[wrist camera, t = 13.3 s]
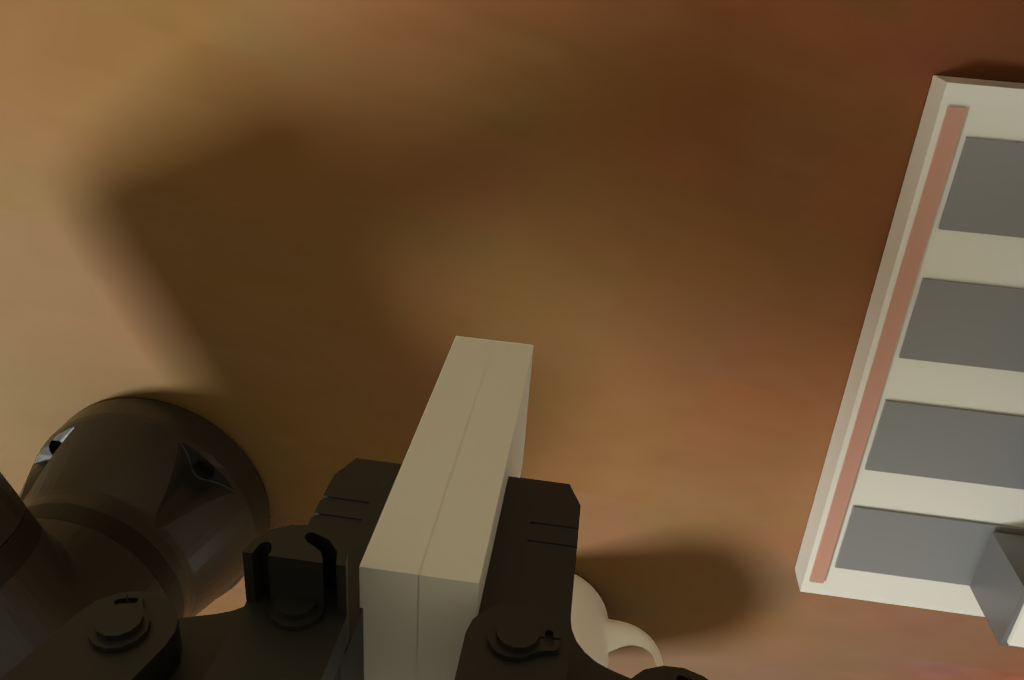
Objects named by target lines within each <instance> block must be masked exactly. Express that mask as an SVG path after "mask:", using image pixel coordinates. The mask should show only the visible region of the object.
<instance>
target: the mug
mask: <svg viewBox="0 0 1024 680" xmlns="http://www.w3.org/2000/svg"><path fill="white" fill-rule="evenodd" d="M571 627H572V631H573V634H574V636H575V639H576V641H577V642H578V644H579V645H580V646H581V648H582V649H583V650H584V652H585V653H586V654H587V655H589V656H590V657H591V658H592V659H593V660H595V661H596V662H597V663H599V664H601V665H602V666H604V667H606V668H608V653H609V652H611V651H613V650H615V649H618V648H620V647H624V646H629V645H635V646H640V647H643V648H645V649H646V650H648V651H649V652H650V653H651V654H652V656H653V657H654V659H655V662H656V667H659V666H663V662H662V658H661V655H660V652H659V649H658V647H657V646H656V644H655V642H654V641H653V640H652V638H651V637H650V636H649V635H648V634H647V633H645V632H644V631H643V630H641V629H640V628H638V627H636V626H634V625H632V624H629V623H626V622H622V621H618V620H612V619H608V615H607V611H606V607H605V605H604V603H603V601H602V599H601V597H600V596H599V594H598V593H597V592H596V590H595V589H594V588H593V587H592V586H591V585H590V584H589V583H588V582H586V581H585V580H584V579H583V578H581V577H579V576H578V575H576V574H574V586H573V597H572V609H571Z"/></svg>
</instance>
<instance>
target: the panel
mask: <svg viewBox="0 0 1024 680" xmlns="http://www.w3.org/2000/svg"><path fill="white" fill-rule="evenodd" d="M991 532H999V533H1006V534H1014V535H1022V536H1024V83H1016V82H1005V81H993V80H982V79H971V78H960V77H949V76H938V75H933V78H932V82H931V85H930V89H929V92H928V96H927V99H926V103H925V106H924V110H923V114H922V117H921V121H920V124H919V128H918V131H917V135H916V139H915V142H914V146H913V149H912V153H911V156H910V160H909V163H908V167H907V171H906V174H905V178H904V181H903V185H902V188H901V192H900V196H899V199H898V203H897V206H896V210H895V213H894V217H893V220H892V224H891V228H890V231H889V235H888V238H887V242H886V245H885V249H884V253H883V256H882V260H881V263H880V267H879V270H878V274H877V277H876V281H875V285H874V288H873V292H872V295H871V299H870V302H869V306H868V310H867V313H866V317H865V320H864V324H863V327H862V331H861V334H860V338H859V342H858V345H857V349H856V352H855V356H854V359H853V363H852V367H851V370H850V374H849V377H848V381H847V384H846V388H845V392H844V395H843V399H842V402H841V406H840V409H839V413H838V416H837V420H836V424H835V427H834V431H833V434H832V438H831V441H830V445H829V449H828V452H827V456H826V459H825V463H824V466H823V470H822V473H821V477H820V481H819V484H818V488H817V491H816V495H815V498H814V502H813V506H812V509H811V513H810V516H809V520H808V523H807V527H806V530H805V534H804V538H803V541H802V545H801V548H800V552H799V555H798V559H797V563H796V566H795V572H796V576H797V580H798V584H799V588H800V591H801V592H809V593H816V594H823V595H830V596H838V597H845V598H852V599H859V600H867V601H874V602H881V603H888V604H896V605H903V606H910V607H917V608H925V609H932V610H939V611H946V612H953V613H961V614H968V615H975V616H982V617H985V616H984V614H983V612H982V610H981V608H980V606H979V604H978V602H977V600H976V598H975V596H974V594H973V592H972V590H971V588H970V584H971V582H972V579H973V577H974V574H975V572H976V569H977V567H978V564H979V562H980V559H981V557H982V554H983V552H984V549H985V547H986V545H987V542H988V540H989V537H990V535H991Z"/></svg>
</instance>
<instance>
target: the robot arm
mask: <svg viewBox="0 0 1024 680" xmlns="http://www.w3.org/2000/svg"><path fill="white" fill-rule="evenodd" d="M532 356H533V345H531V344H522V343H514V342H506V341H497V340H489V339H480V338H472V337H463V336H456V337H455V339H454V341H453V344H452V346H451V349H450V351H449V353H448V356H447V358H446V361H445V363H444V365H443V368H442V370H441V372H440V375H439V377H438V380H437V382H436V384H435V387H434V389H433V392H432V394H431V396H430V399H429V401H428V404H427V406H426V408H425V411H424V413H423V415H422V418H421V420H420V423H419V425H418V427H417V430H416V432H415V435H414V437H413V439H412V442H411V444H410V447H409V449H408V451H407V454H406V456H405V458H404V461H403V463H402V464H395V463H388V462H380V461H372V460H365V459H357V458H356V459H355V460H354V461H352V462H351V463H350V464H348V465H347V466H346V467H344V468H343V469H342V470H340V471H339V472H338V473H336V474H335V475H334V477H333V479H332V480H331V482H330V484H329V486H328V488H327V490H326V492H325V494H324V496H323V500H321V501H320V503H319V505H318V507H317V509H316V511H315V512H314V517H312V518H311V520H310V522H309V524H308V525H290V526H286V527H282V528H278V529H274V530H270V531H268V526H269V507H268V501H267V497H266V493H265V490H264V487H263V485H262V482H261V480H260V478H259V476H258V474H257V472H256V470H255V469H254V467H253V466H252V464H251V462H250V461H249V460H248V458H247V457H246V456H245V454H244V453H243V452H242V451H241V450H240V449H239V448H238V446H237V445H236V444H235V443H234V442H233V441H232V440H230V439H229V438H228V437H227V436H226V435H225V434H224V433H222V432H221V431H220V430H219V429H217V428H216V427H214V426H213V425H212V424H210V423H208V422H207V421H205V420H204V419H202V418H200V417H198V416H197V415H195V414H193V413H191V412H188V411H186V410H184V409H181V408H179V407H176V406H173V405H170V404H167V403H163V402H159V401H155V400H148V399H140V398H119V399H112V400H107V401H103V402H99V403H96V404H93V405H91V406H89V407H87V408H85V409H83V410H81V411H80V412H78V413H77V414H75V415H74V416H73V417H72V418H71V419H70V420H68V421H67V422H66V423H65V424H64V425H63V426H62V427H61V428H60V429H58V430H57V431H56V432H55V433H54V434H53V435H52V436H51V437H50V438H49V439H48V440H47V442H46V443H45V444H44V446H43V447H42V449H41V450H40V452H39V454H38V455H37V458H36V460H35V462H34V465H33V466H32V469H31V471H30V473H29V475H28V477H27V480H26V482H25V484H24V486H23V489H22V491H21V493H20V495H18V494H17V493H16V492H15V490H14V489H13V488H12V486H11V485H10V484H9V483H8V481H7V480H6V479H5V477H4V476H3V475H2V474H1V472H0V680H707V679H706V678H705V677H703V676H701V675H699V674H696V673H694V672H692V671H689V670H687V669H685V668H678V667H669V666H659V667H655V668H650V669H645V670H643V671H641V672H640V673H639V674H637V675H636V676H634V677H633V678H632V679H630V678H628V677H625V676H623V675H621V674H619V673H616V672H614V671H612V670H610V669H608V668H606V667H604V666H602V665H601V664H599V663H597V662H596V661H595V660H593V659H592V658H591V657H590V656H589V655H587V654H586V653H585V652H584V650H583V649H582V648H581V646H580V645H579V644H578V642H577V641H576V639H575V636H574V634H573V631H572V627H571V609H572V597H573V586H574V574H575V563H576V550H577V540H578V528H579V516H580V504H579V502H578V500H577V498H576V496H575V494H574V492H573V490H572V488H571V486H570V485H569V484H564V483H556V482H548V481H541V480H533V479H526V478H520V475H521V470H522V465H523V456H524V445H525V434H526V423H527V412H528V401H529V389H530V378H531V367H532ZM243 577H244V578H245V588H246V599H247V602H246V604H245V606H244V607H242V608H239V609H236V610H234V611H230V612H224V613H219V614H213V615H203V616H196V615H197V614H198V613H199V612H201V611H202V610H203V609H204V608H206V607H207V606H208V605H209V604H210V603H212V602H213V601H214V600H215V599H217V598H218V597H220V596H221V595H223V594H224V593H226V592H227V591H229V590H230V589H232V588H233V587H234V586H235V585H236V584H237V583H238V582H239V581H240V580H241V579H242V578H243Z"/></svg>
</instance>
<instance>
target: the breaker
mask: <svg viewBox="0 0 1024 680" xmlns="http://www.w3.org/2000/svg"><path fill="white" fill-rule="evenodd" d="M970 588H971V590H972V592H973V594H974V596H975V598H976V600H977V602H978V604H979V606H980V608H981V610H982V612H983V614H984V616H985V618H986V620H987V622H988V624H989V626H990V628H991V630H992V632H993V634H994V636H995V638H996V640H997V642H998V644H999V645H1002V646H1009V647H1016V648H1024V536H1022V535H1014V534H1006V533H999V532H991V535H990V537H989V540H988V542H987V545H986V547H985V549H984V552H983V554H982V557H981V559H980V562H979V564H978V567H977V569H976V572H975V574H974V577H973V579H972V582H971V584H970Z"/></svg>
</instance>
